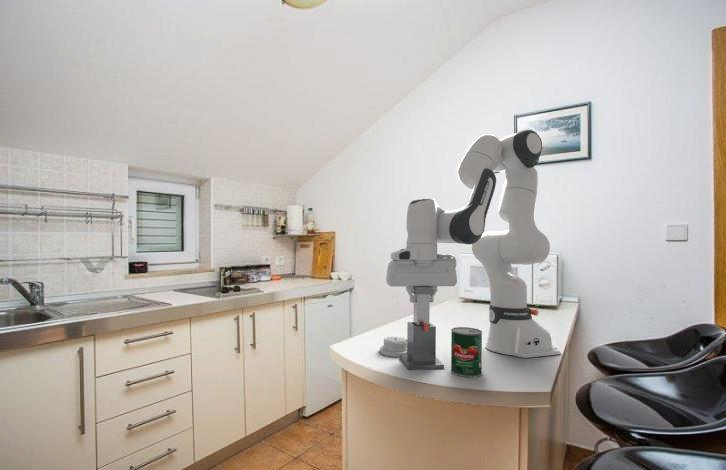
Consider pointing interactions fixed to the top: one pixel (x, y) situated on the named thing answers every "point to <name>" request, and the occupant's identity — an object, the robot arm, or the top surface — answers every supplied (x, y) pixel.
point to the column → (421, 304)
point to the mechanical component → (394, 346)
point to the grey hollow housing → (421, 347)
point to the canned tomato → (466, 351)
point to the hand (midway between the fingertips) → (421, 302)
